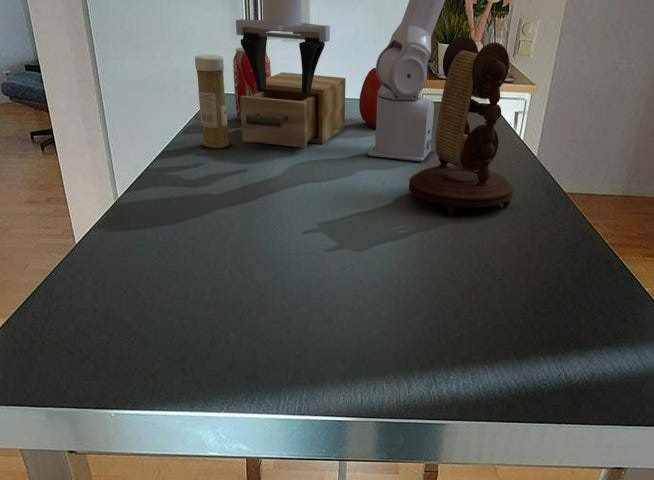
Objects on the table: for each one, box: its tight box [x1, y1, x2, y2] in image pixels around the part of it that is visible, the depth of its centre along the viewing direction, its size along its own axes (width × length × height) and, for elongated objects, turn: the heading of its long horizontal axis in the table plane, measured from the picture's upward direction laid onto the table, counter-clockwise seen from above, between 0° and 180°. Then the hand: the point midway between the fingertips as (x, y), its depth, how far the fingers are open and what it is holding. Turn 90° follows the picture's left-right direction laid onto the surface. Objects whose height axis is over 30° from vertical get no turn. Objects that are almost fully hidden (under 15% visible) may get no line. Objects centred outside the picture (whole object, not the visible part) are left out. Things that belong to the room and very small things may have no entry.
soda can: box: [232, 46, 272, 120], centre depth 136 cm, size 7×7×12 cm
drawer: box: [240, 89, 319, 149], centre depth 122 cm, size 17×11×7 cm
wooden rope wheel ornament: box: [408, 35, 515, 216], centre depth 96 cm, size 15×15×20 cm
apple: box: [358, 67, 382, 129], centre depth 137 cm, size 11×11×11 cm
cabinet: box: [254, 71, 347, 145], centre depth 130 cm, size 14×13×9 cm
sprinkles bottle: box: [194, 54, 230, 149], centre depth 118 cm, size 5×5×14 cm
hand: (283, 91), depth 113 cm, fingers open, 7 cm apart
